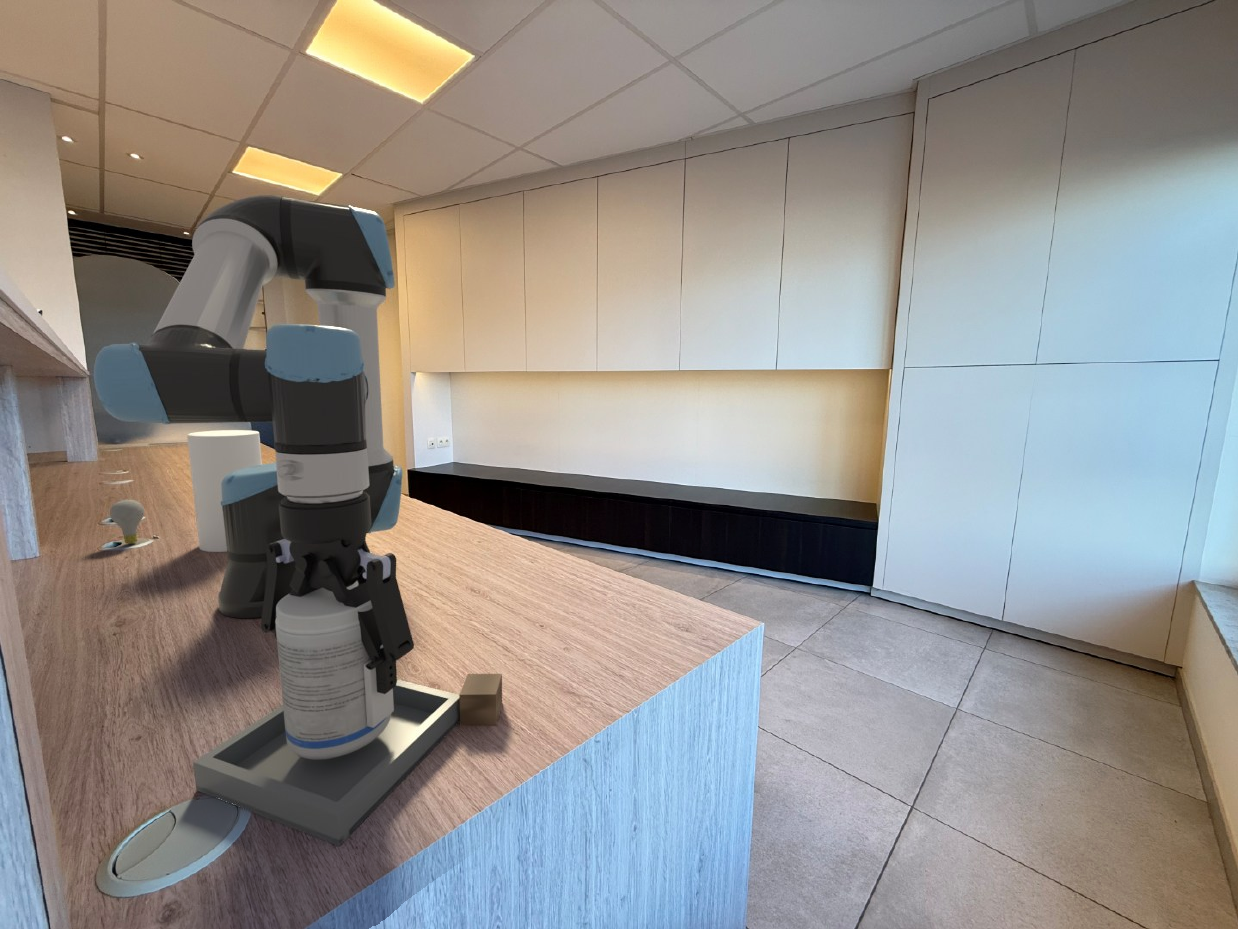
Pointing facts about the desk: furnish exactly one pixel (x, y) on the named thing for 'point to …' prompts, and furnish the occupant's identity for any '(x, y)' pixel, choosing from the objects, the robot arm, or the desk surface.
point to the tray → (326, 766)
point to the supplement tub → (323, 675)
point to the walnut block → (481, 700)
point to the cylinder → (217, 477)
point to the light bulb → (127, 518)
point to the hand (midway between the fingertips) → (340, 706)
